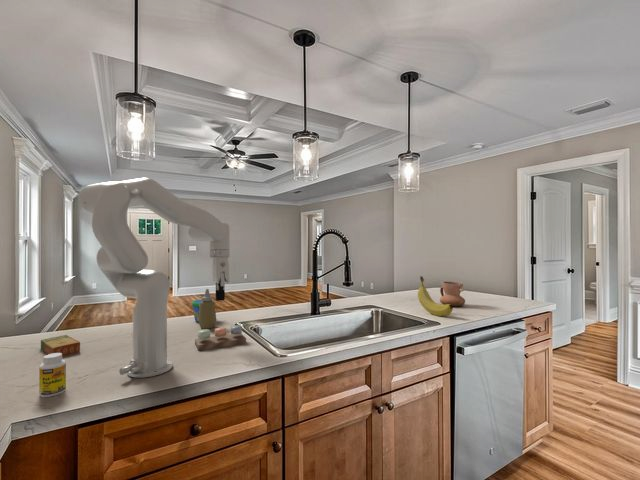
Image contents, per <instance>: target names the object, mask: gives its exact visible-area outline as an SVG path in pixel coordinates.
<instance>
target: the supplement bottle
mask: <svg viewBox="0 0 640 480" xmlns="http://www.w3.org/2000/svg"><path fill="white" fill-rule="evenodd" d="M63 357H64V356H62V353H53V354H48V355H47V354H46V355H44V356H43V360H42V363H40V365H39V368H38V369H39V374H38V375H39V379H38V380H39V382H38V383H39V384H38V385H39V386H38V387H39V388H38V389H39V392H38V393H39V396H40V397H41V398H42V397H43V398H49V397H54V396H58V395H60V394H62V393H64V392H65V390H67V389H66V388H67V380H66V379H67V362H66V359H63Z"/></svg>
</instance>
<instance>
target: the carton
mask: <svg viewBox="0 0 640 480" xmlns="http://www.w3.org/2000/svg"><path fill="white" fill-rule="evenodd" d="M42 350H43V351H44V352H43V351H42ZM40 351H42V352H43V353H45V354H46V353H47V354H53V353H62V357H65V356H69V355H70V354H71V355H74V353H75V354H79V353H81V342H80V341H78V340H76V339H75V338H72V337H71V336H69V335H67V334H64V335H60V336H55V337H54V336H53V337H48V338H43V339H41V340H40ZM78 352H79V353H78ZM47 354H46V355H47Z"/></svg>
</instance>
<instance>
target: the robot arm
mask: <svg viewBox="0 0 640 480" xmlns="http://www.w3.org/2000/svg"><path fill="white" fill-rule="evenodd" d="M77 197H78V198H77V200H78V203H79V206H80V207H82V209H84V210H85V211H86V212H89V213H92V218H91V229H92V232H93V235H94V237H95V239H96V240H97V241H98V242H99V245H100V246H101V247H99V249H98V251H97V253H96V263H97V266H98V268H99V270H100V271H101V272H102V274H103V275H104V276H105V278H107V280H108V281H109V282H110V283H111V284H112V286H113V287H114V288H115V290H116V291H117V292H118V293H119V294H120V295H121V296H123V297H126V298H129V299H136V302H135V305H134V308H133V312H132V359H130V360H129V364H128V365H127V366H126V365H125V366H124V367H121V368H119V372H118V373H119V374H120V375H122V376H124V375H126V374H127V376H129V377H131V378H136V379H137V378H139V379H141V378H151V377H156V376H159V375H162V374H164V373H166V372H168V371H170V370H171V369H172V368H173V361H171V360H169V359H168V328H167V327H168V317H167V316H168V314H167V312H168V299H169V294H170V289H171V283H170V282H171V281H170V279H169V277H168V276H167V274H165V273H164V272H162V271H160V270H156V269H148V268H147V269H146V267H147V266H148V263H149V257H148V254H147V252H146V251H145V249H144V247H143V245H141V242H139V240H138V239H137V238H136V236H135V235H134V233H133V231H132V230H131V228H130V226H129V224H128V222H127V214H128V213H127V212H128V209H129V208H131V207H137V206H138V207H139V206H143V207H145V208H146V209H148V210H150V211H151V212H153V213H154V214H155V215H157V216H159V217H160V218H162V219H163V220H165V221H166V222H168V223H172V224H175V225H179V226H185V227H188V231H187V232H188V236H189V237H190V238H191V240H194V241H196V242H209V258H210V259H212V263H211V264H212V265H211V266H212V267H211V268H212V271H211V272H212V273H211V275H212V281H213V282H215V283H214V284H215V301H216V302H218V301H225V299H226V294H225V293H226V292H225V291H226V290H225V287H226V286H225V284H227V283H230V266H229V265H230V264H229V258H230V257H231V255H230V253H231V252H230V250H231V246H230V242H231V241H230V240H231V239H230V225H229V223H228V222H227V223H226V222H222V221H221V220H220V219H219V218H217V217H216V216H215V215H213V214H212V213H210V212H208V211H207V210H206V209H202V208H200V207H197V206H196V205H194V204H190V203H188V202H186V201H183V200H182V199H181V198H179V197H178V196H177V195H175V194H174V193H172V191H170V190H168V189H167V188H165V187H164V186H163V185H162V184H160V183H159V182H157V181H156V180H155V179H153V178H151V177H150V178H149V177H141V178H140V177H139V178H133V179H127V180H121V181H106V182H100V183H93V184H88V185H86V186H84V187H83V188H82V189H81V190H80V191H79V192H78V196H77Z"/></svg>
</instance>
